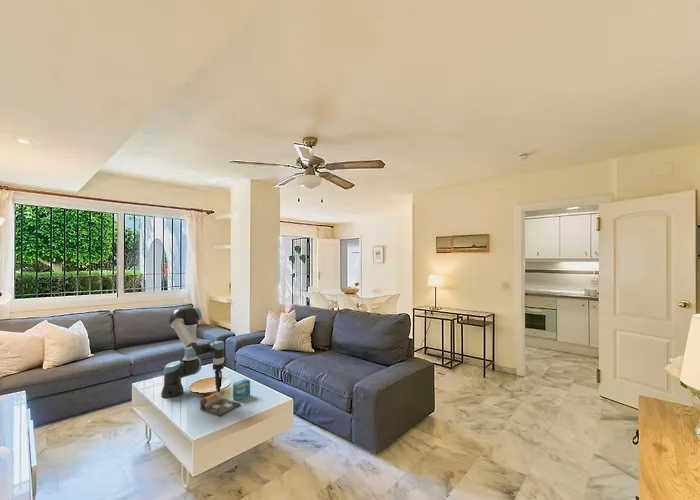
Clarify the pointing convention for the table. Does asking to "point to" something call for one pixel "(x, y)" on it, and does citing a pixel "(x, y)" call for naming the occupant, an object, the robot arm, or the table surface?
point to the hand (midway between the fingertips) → (218, 395)
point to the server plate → (220, 407)
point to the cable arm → (210, 398)
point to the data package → (241, 389)
